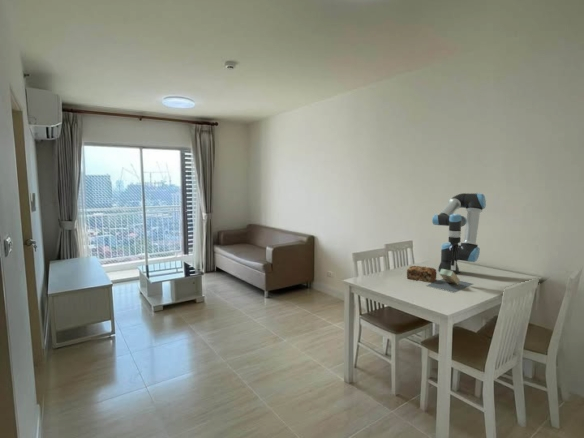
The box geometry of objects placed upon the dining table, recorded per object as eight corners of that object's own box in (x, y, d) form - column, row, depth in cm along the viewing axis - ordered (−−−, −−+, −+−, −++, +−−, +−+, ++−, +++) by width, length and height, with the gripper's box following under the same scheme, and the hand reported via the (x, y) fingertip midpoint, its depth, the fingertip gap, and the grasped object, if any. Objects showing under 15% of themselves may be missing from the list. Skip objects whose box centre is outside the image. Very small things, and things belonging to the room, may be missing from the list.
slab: (446, 282, 241) (439, 273, 233) (448, 277, 242) (441, 268, 234) (457, 285, 235) (450, 276, 227) (459, 279, 236) (452, 270, 228)
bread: (436, 280, 247) (437, 267, 246) (430, 284, 240) (430, 270, 239) (412, 276, 261) (412, 263, 260) (405, 278, 254) (406, 265, 252)
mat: (426, 286, 235) (426, 285, 235) (445, 278, 252) (445, 277, 252) (455, 293, 219) (455, 292, 219) (473, 284, 237) (473, 283, 237)
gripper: (455, 238, 227) (454, 272, 230) (464, 236, 236) (462, 269, 238) (444, 237, 233) (443, 270, 236) (453, 235, 241) (452, 267, 244)
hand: (453, 269), depth 237 cm, fingers closed
